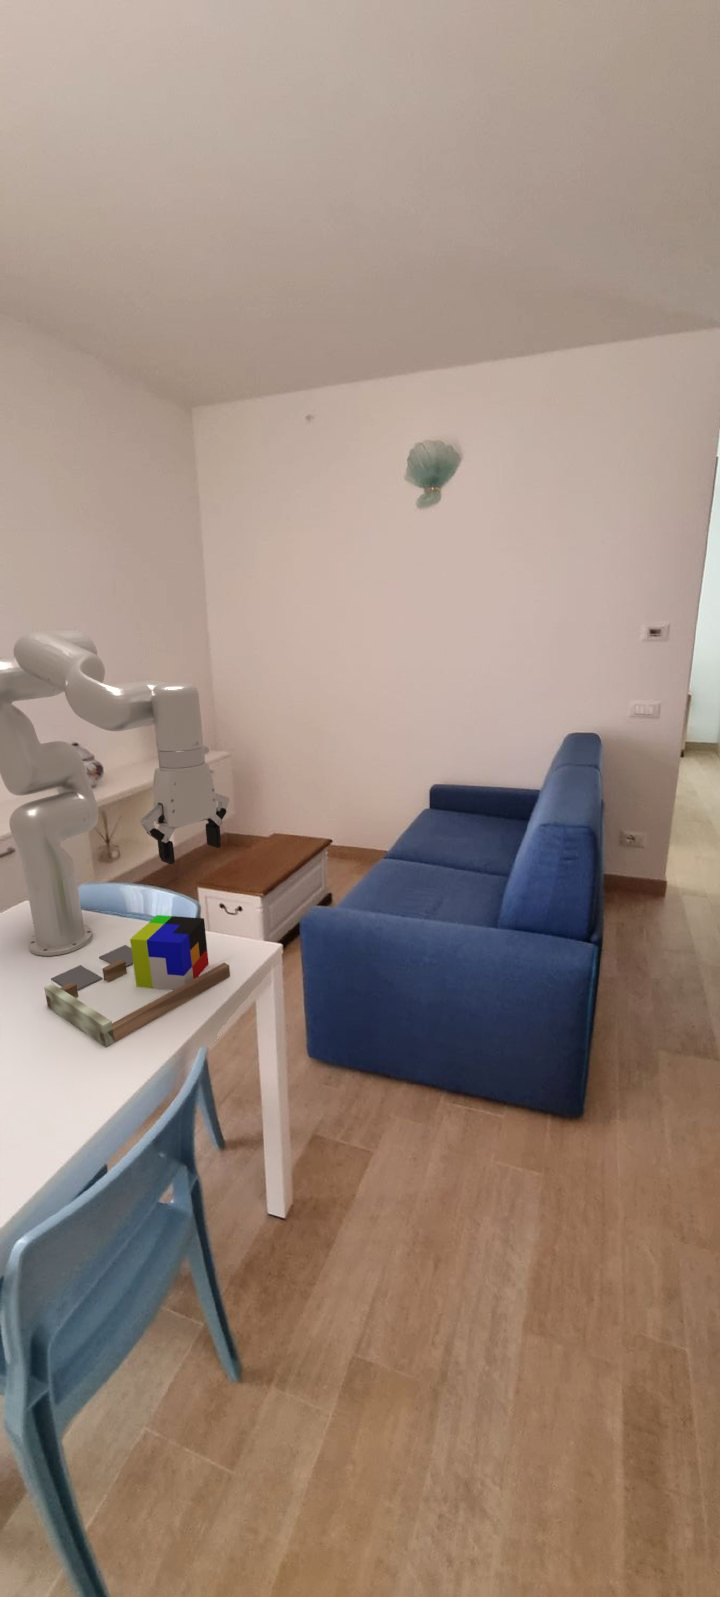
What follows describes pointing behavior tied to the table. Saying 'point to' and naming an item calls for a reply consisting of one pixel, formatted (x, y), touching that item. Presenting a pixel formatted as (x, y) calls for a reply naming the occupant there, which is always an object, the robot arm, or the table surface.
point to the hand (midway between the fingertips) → (191, 854)
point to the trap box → (111, 1032)
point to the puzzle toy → (169, 952)
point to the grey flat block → (77, 977)
